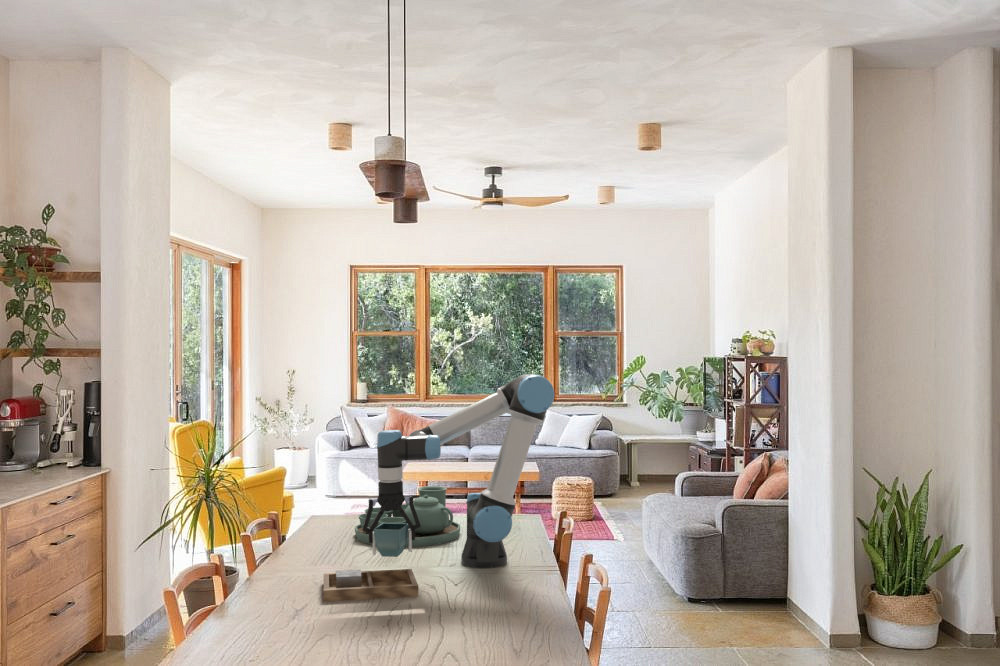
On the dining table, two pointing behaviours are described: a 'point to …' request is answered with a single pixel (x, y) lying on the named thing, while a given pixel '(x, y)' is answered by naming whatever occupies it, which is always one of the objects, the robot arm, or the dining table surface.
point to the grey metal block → (348, 578)
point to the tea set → (420, 518)
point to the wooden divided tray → (373, 586)
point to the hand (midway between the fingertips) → (392, 552)
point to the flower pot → (391, 538)
